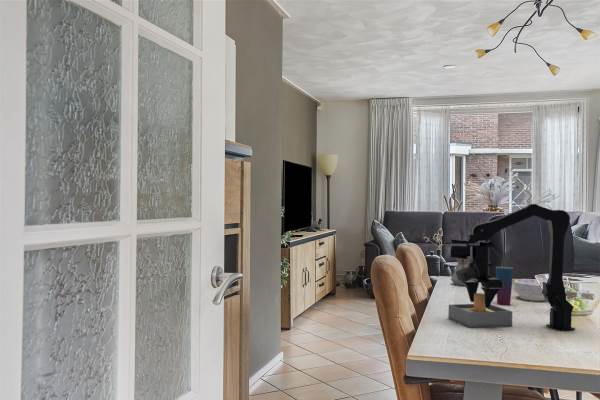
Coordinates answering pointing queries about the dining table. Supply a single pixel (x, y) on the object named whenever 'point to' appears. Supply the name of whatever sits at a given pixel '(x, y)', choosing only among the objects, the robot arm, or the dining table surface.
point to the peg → (479, 302)
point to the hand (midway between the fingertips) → (479, 304)
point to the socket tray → (480, 316)
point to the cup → (504, 285)
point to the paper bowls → (528, 289)
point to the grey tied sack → (461, 264)
